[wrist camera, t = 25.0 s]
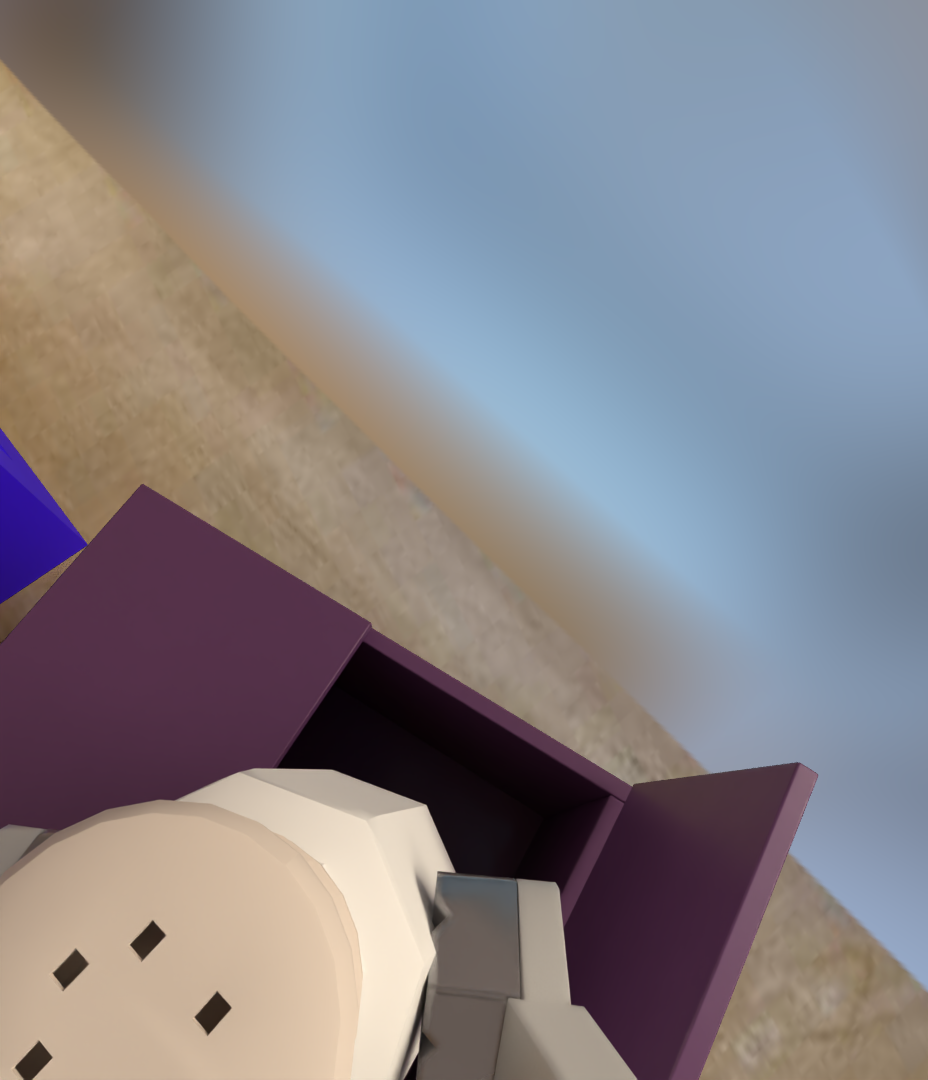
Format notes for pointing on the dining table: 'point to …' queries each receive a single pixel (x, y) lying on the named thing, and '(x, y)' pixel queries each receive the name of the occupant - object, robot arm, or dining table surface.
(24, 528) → the bracket
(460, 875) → the robot arm
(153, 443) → the dining table surface
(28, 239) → the dining table surface
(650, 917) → the flap
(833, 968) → the dining table surface
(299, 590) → the carton
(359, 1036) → the pepper shaker
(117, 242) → the dining table surface
